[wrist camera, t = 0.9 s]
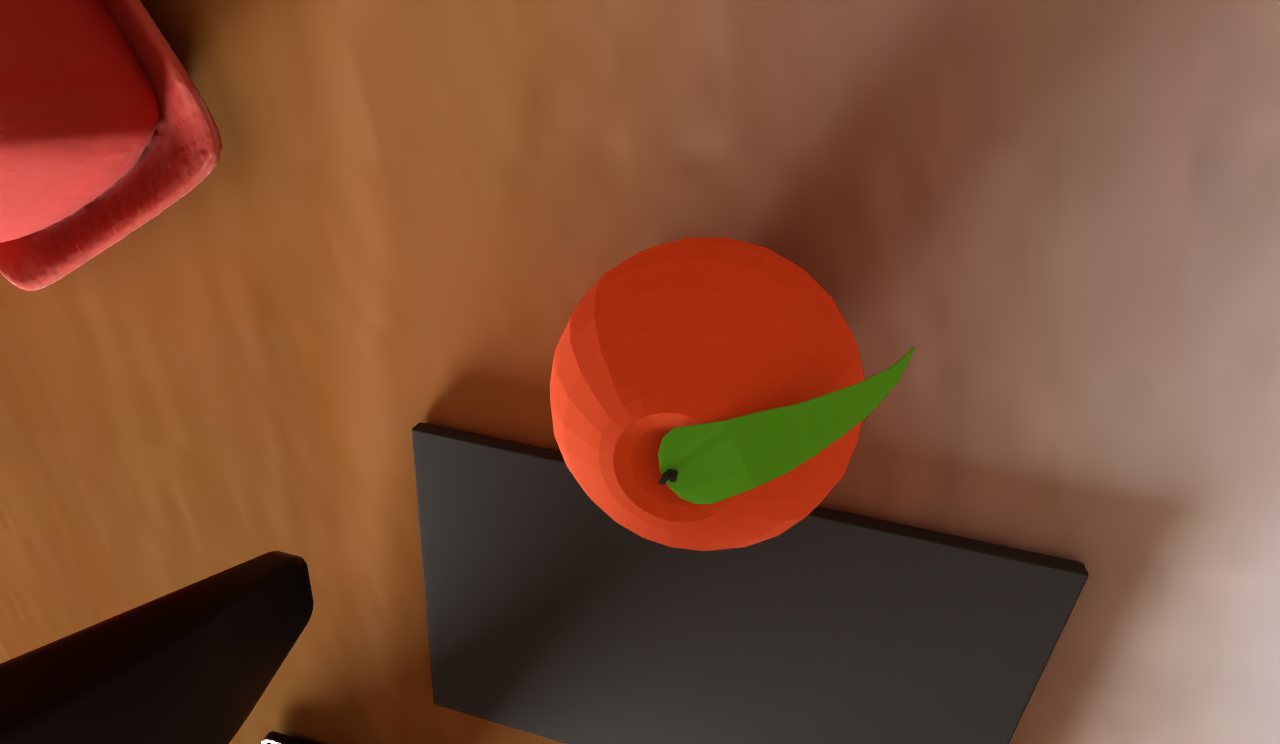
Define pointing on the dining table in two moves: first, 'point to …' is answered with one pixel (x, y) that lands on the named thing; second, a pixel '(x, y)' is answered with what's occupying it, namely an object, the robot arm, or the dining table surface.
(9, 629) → the dining table surface
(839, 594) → the placemat
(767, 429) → the clementine
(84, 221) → the butter dish
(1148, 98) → the dining table surface
